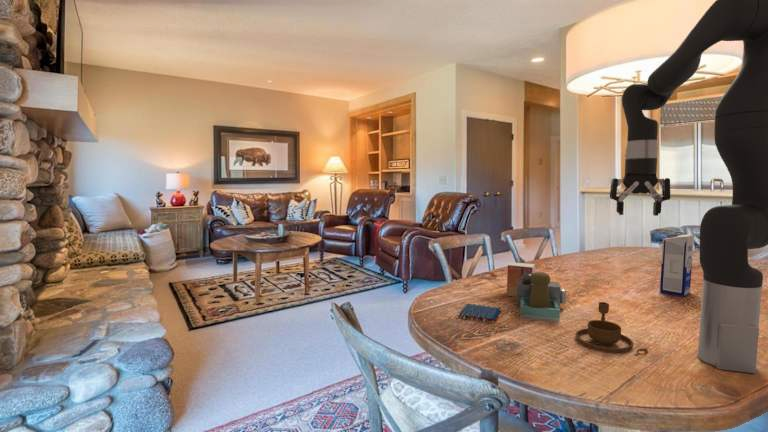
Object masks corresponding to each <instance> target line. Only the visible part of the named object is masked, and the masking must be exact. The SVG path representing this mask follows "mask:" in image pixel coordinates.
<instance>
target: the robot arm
mask: <svg viewBox="0 0 768 432" xmlns="http://www.w3.org/2000/svg"><path fill="white" fill-rule="evenodd" d="M722 41H724V42H740V41H741V42H742V43H743V52H742V61H741V65H740V68H739V71H738V73H737V75H736V76H735V78H734V79H733V81H732V83H731V84H730V85H729V87H728V88H727V90H726V91H725V92H724V93H723V95H722V96H721V99H720V100H719V101H718V103H717V106H716V109H715V112H714V134H713V135H714V143H715V144H714V145H715V146H716V150H717V151H718V154H719V156H720V158H721V160H722V161H723V163H724V165H725V167H726V169H727V171H728V173H729V176H730V178H731V184H732V200H731V204H722V205H716V206H714V207H711V208H709V209H708V210H707V211H706V212H705V213H704V215H703V216H702V219H701V221H700V227H699V264H700V266H701V268H702V272H703V273H702V274H703V277H702V278H703V279H702V291H701V292H702V293H701V305H700V315H699V318H700V319H699V334H698V348H697V349H698V350H697V356H698V358H699V359H700V360H701V361H702V362H704V363H706V364H708V365H710V366H713V367H715V368H716V369H718V370H725V371H730V372H741V373H748V374H756V370H757V359H758V349H759V348H758V347H759V336H760V327H759V326H760V315H761V304H762V296H763V295H762V293H763V292H762V291H763V283H764V282H763V281H764V275H763V273H762V271H761V270H760V269H757V268H755V267H752V266H751V265H750V264H749V263H750V262H749V250H755V249H762V248H765V247H767V246H768V0H715V1H714V2H713V3H712V5H710V6H709V8H708V9H707V10H706V11H705V12H704V14H703V15H702V16H701V18H700V19H699V20H698V21H697V23H696V24H695V25H694V27H693V28H692V29H691V30H690V32H689V33H688V34H687V35H686V37H685V38H684V40H683V41H682V42H681V43H680V44H679V46H678V48H677V49H675V51H674V52H673V53H672V54H671V55H670V56H669V57H668V58H667V59H666V60H665V61H663V62H662V63H661V64H660V65H659V66H658V67H657V68H656V69H655V70H654V71H652V73H650V74H649V77H648V79H647V83H634V84H632V83H631V84H629V85H628V86H627V87H626V88H625V90H624V91H623V93H622V96H621V104H622V105H621V106H622V108H623V112H624V113H623V114H624V116H625V121H626V124H627V141H626V148H625V154H624V157H625V159H624V177H623V178H622V179H621V178H612V179H611V181H610V182H611V183H610V192H609V198H610V199H611V200H613V201H616V209H615V210H616V213H617V214H618V215H619V216H624V207H625V206H624V205H625V202H624V200H626V198H627V197H628V196H630V194H634V195H635V194H644V195H646V194H648V195H650V196H651V198H652V199H653V200H654V201H653V205H652V206H653V207H652V209H653V210H652V211H653V212H652V215H653V216H659V214H661V212H662V203H663V202H665V201H669V200H671V179H670V178H669V177H664V178H658V177H657V171H658V170H657V169H658V154H659V147H658V146H659V144H658V132H659V131H658V130H659V122H658V120H657V119H655V118H651V117H647V116H645V114H644V113H643V111H656V110H659V109H661V108H662V107H664V106H665V105H666V104H667V102H668V101H669V100H670V98H671V97H672V95H673V94H674V92H675V91H676V90H677V89H678V88H679V87H681V86H682V85H684V83H686V82H687V81H689V79H691V78H692V77H693V76H694V75H695V73H696V72H697V71H698V69H699V67H700V65H701V64H700V63H701V59H702V55H703V53H704V52H705V51H707V50H708V49H709V48H711V47H712V46H714V45H716V44H717V43H720V42H722ZM621 184H623V185H624V187H625V188H624V189H623V191H621V193H620V194H619V195H618V194H617V193H618V187H620V186H621ZM657 184H659V186H660V187H661V195H662V196H660V194H659V193H658V191H657V190H656V189H655V186H656V185H657Z"/></svg>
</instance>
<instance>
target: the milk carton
mask: <svg viewBox="0 0 768 432" xmlns="http://www.w3.org/2000/svg"><path fill="white" fill-rule="evenodd" d="M694 237H695V234H693V233H691V234H690V233H689V234H681V235H678V233H676V232H674V233H669V234H666V238H663V239H662V248H661V265H660V267H661V268H660V281H659V282H660V285H659V293H662V294H667V295H673V296H678V297H686V296H687V295H689V294H690V293H691V286H692V285H691V284H692V283H691V282H692V281H691V280H692V269H693V268H692V266H693V254H694V251H693V250H694Z"/></svg>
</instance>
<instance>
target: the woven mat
mask: <svg viewBox="0 0 768 432" xmlns="http://www.w3.org/2000/svg"><path fill="white" fill-rule="evenodd" d="M501 309H502V308H501V307H499V306H498V307H496V306H490V305H484V304H483V305H481V304H475V303H467V304H465V306H464V307H463V309H462V310H461V311H460V312H459V314H458V315H457V317H459V320H460V319H462V320H466V319H467V321H469V320H470V321H479V322H483V323H486V322H487V323H490V322H491V324H494V323H495V322H497V321H498V318H499V316H500V314H501V312H502V311H501Z"/></svg>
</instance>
